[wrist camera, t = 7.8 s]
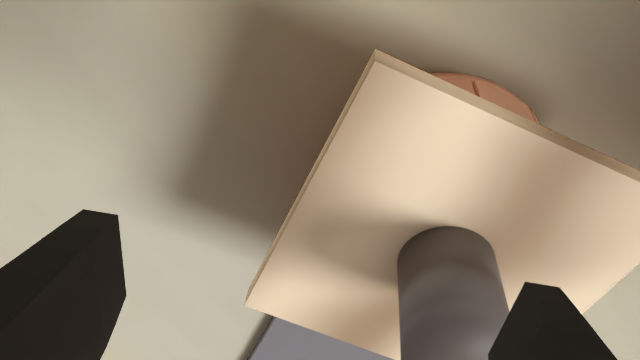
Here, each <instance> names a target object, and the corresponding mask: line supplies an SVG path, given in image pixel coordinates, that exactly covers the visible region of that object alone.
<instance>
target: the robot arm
mask: <svg viewBox="0 0 640 360" xmlns="http://www.w3.org/2000/svg"><path fill="white" fill-rule="evenodd" d="M125 298H126V288H125V279H124V269H123V259H122V250H121V240H120V231H119V221H118V215H114V214H108V213H102V212H96V211H90V210H84V209H83V210H82V211H80V212H79V213H78V214H76V215H75V216H73V217H72V218H70V219H69V220H68V221H66V222H65V223H63V224H62V225H60V226H59V227H58V228H56V229H55V230H53V231H52V232H51V233H49V234H48V235H47V236H45V237H44V238H42V239H41V240H40V241H38V242H37V243H36V244H34V245H33V246H31V247H30V248H29V249H27V250H26V251H24V252H23V253H22V254H20V255H19V256H17V257H16V258H15V259H13V260H12V261H10V262H9V263H8V264H6V265H5V266H3V267H2V268H0V360H100V358H101V356H102V355H103V353H104V351H105V349H106V347H107V344H108V342H109V339H110V337H111V334H112V332H113V329H114V327H115V324H116V322H117V319H118V316H119V314H120V311H121V308H122V306H123V303H124V300H125ZM488 360H617V359H616V357H615V356H614V355H613V354H612V352H611V351H610V350H609V349H608V347H607V346H606V345H605V344H604V342H603V341H602V340H601V338H600V337H599V336H598V335H597V333H596V332H595V331H594V330H593V328H592V327H591V326H590V324H589V323H588V322H587V321H586V319H585V318H584V317H583V316H582V314H581V313H580V312H579V310H578V309H577V308H576V307H575V305H574V304H573V303H572V302H571V300H570V299H569V298H568V297H567V296H566V294H565V293H564V292H563V291H562V290H561V288H560V287H555V286H549V285H543V284H537V283H530V282H525V283H524V285H523V287H522V289H521V291H520V293H519V295H518V297H517V299H516V300H515V302H514V304H513V306H512V308H511V310H510V312H509V314H508V316H507V318H506V320H505V322H504V324H503V326H502V328H501V330H500V332H499V334H498V336H497V338H496V340H495V342H494V344H493V345H492V347H491V349H490V351H489V353H488Z"/></svg>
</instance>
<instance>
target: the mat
mask: <svg viewBox="0 0 640 360" xmlns="http://www.w3.org/2000/svg"><path fill="white" fill-rule="evenodd" d="M248 360H394V359H392V358H389V357H386V356H383V355H380V354H378V353H375V352H372V351H369V350H367V349H364V348H361V347H358V346H355V345H353V344H350V343H347V342H344V341H341V340H339V339H336V338H333V337H330V336H328V335H325V334H322V333H319V332H316V331H314V330H311V329H308V328H305V327H303V326H300V325H297V324H294V323H291V322H289V321H286V320H283V319H280V318H278V317H275V316H274V317H273V319H272V320H271V322H270V324H269V325H268V327H267V329H266V330H265V332H264V334H263V335H262V337H261V338H260V340H259V342H258V343H257V345H256V347H255V348H254V350H253V352H252V353H251V355H250V357H249V358H248Z"/></svg>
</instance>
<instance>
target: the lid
mask: <svg viewBox="0 0 640 360" xmlns="http://www.w3.org/2000/svg"><path fill="white" fill-rule="evenodd" d="M639 263H640V171H638V170H636V169H634V168H632V167H630V166H628V165H625V164H623V163H621V162H619V161H617V160H615V159H613V158H610V157H608V156H606V155H604V154H602V153H600V152H597V151H595V150H593V149H591V148H589V147H587V146H584V145H582V144H580V143H578V142H576V141H574V140H571V139H569V138H567V137H565V136H563V135H561V134H558V133H556V132H554V131H552V130H550V129H548V128H545V127H543V126H541V125H539V124H537V123H535V122H533V121H530V120H528V119H526V118H524V117H522V116H520V115H517V114H515V113H513V112H511V111H509V110H507V109H504V108H502V107H500V106H498V105H496V104H494V103H491V102H489V101H487V100H485V99H483V98H481V97H478V96H476V95H474V94H472V93H470V92H468V91H465V90H463V89H461V88H459V87H457V86H455V85H452V84H450V83H448V82H446V81H444V80H442V79H440V78H437V77H435V76H433V75H431V74H429V73H427V72H424V71H422V70H420V69H418V68H416V67H414V66H411V65H409V64H407V63H405V62H403V61H401V60H398V59H396V58H394V57H392V56H390V55H388V54H385V53H383V52H381V51H379V50H377V49H375V50H374V52H373V54H372V56H371V58H370V60H369V62H368V63H367V65H366V67H365V69H364V71H363V73H362V75H361V77H360V79H359V81H358V82H357V84H356V86H355V88H354V90H353V92H352V94H351V96H350V98H349V99H348V101H347V103H346V105H345V107H344V109H343V111H342V113H341V115H340V117H339V118H338V120H337V122H336V124H335V126H334V128H333V130H332V132H331V134H330V135H329V137H328V139H327V141H326V143H325V145H324V147H323V149H322V151H321V153H320V154H319V156H318V158H317V160H316V162H315V164H314V166H313V168H312V170H311V171H310V173H309V175H308V177H307V179H306V181H305V183H304V185H303V187H302V189H301V190H300V192H299V194H298V196H297V198H296V200H295V202H294V204H293V206H292V207H291V209H290V211H289V213H288V215H287V217H286V219H285V221H284V223H283V225H282V226H281V228H280V230H279V232H278V234H277V236H276V238H275V240H274V242H273V243H272V245H271V247H270V249H269V251H268V253H267V255H266V257H265V259H264V261H263V262H262V264H261V266H260V268H259V270H258V272H257V274H256V276H255V278H254V279H253V281H252V283H251V285H250V287H249V289H248V293H247V297H246V301H245V304H244V306H247V307H250V308H253V309H255V310H258V311H261V312H264V313H266V314H269V315H272V316H275V317H278V318H280V319H283V320H286V321H289V322H291V323H294V324H297V325H300V326H303V327H305V328H308V329H311V330H314V331H316V332H319V333H322V334H325V335H328V336H330V337H333V338H336V339H339V340H341V341H344V342H347V343H350V344H353V345H355V346H358V347H361V348H364V349H367V350H369V351H372V352H375V353H378V354H380V355H383V356H386V357H389V358H392V359H394V360H488V353H489V351H490V349H491V347H492V345H493V344H494V342H495V340H496V338H497V336H498V334H499V332H500V330H501V328H502V326H503V324H504V322H505V320H506V318H507V316H508V314H509V312H510V310H511V308H512V306H513V304H514V302H515V300H516V299H517V297H518V295H519V293H520V291H521V289H522V287H523V285H524V283H525V282H530V283H537V284H543V285H549V286H555V287H560V288H561V290H562V291H563V292H564V293H565V294H566V296H567V297H568V298H569V299H570V300H571V302H572V303H573V304H574V305H575V307H576V308H577V309H578V310H579V312H580V313H581V314H583V313H584V312H585V311H586V310H587V309H588V308H590V307H591V306H592V305H593V304H594V303H595V302H596V301H598V300H599V299H600V298H601V297H602V296H603V295H604V294H605V293H607V292H608V291H609V290H610V289H611V288H612V287H613V286H614V285H616V284H617V283H618V282H619V281H620V280H621V279H622V278H624V277H625V276H626V275H627V274H628V273H629V272H630V271H631V270H633V269H634V268H635V267H636V266H637V265H638V264H639Z"/></svg>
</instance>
